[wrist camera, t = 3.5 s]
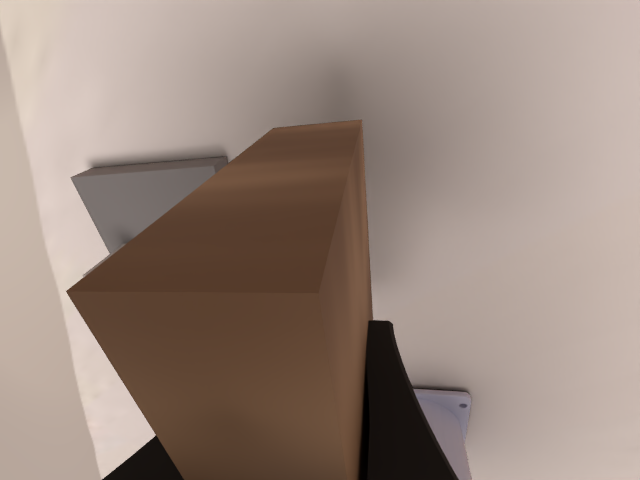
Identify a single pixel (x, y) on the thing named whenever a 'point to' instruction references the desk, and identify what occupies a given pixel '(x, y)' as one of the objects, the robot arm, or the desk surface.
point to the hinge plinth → (138, 195)
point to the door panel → (250, 313)
